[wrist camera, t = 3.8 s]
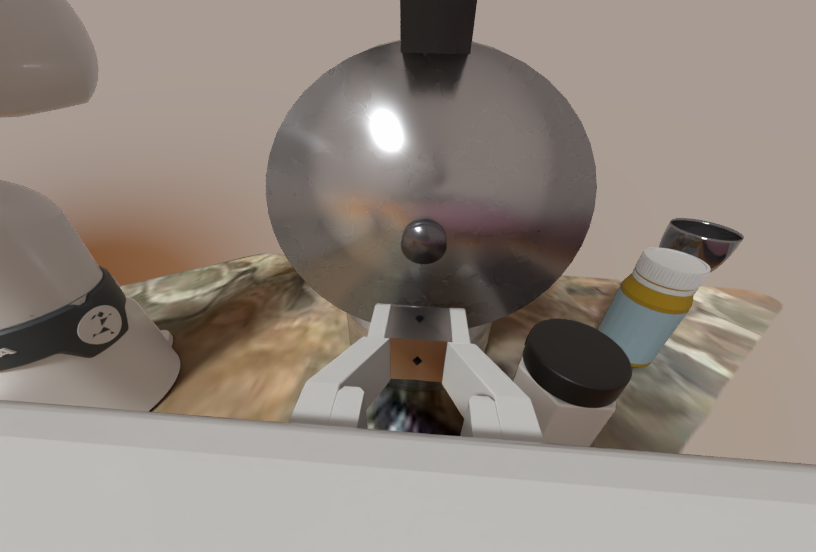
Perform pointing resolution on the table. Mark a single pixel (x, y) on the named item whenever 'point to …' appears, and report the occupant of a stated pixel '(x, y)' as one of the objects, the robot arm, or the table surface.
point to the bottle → (653, 302)
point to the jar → (572, 379)
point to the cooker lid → (431, 175)
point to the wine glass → (701, 240)
